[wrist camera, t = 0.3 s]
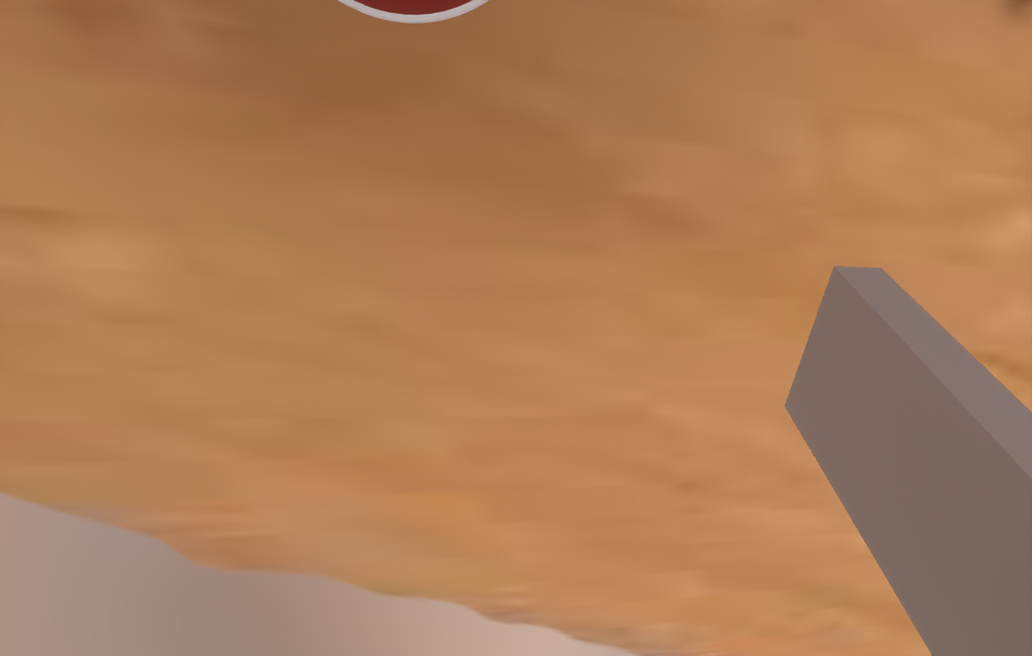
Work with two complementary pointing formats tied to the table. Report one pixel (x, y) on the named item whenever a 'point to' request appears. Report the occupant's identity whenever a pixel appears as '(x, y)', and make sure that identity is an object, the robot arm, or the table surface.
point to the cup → (414, 9)
